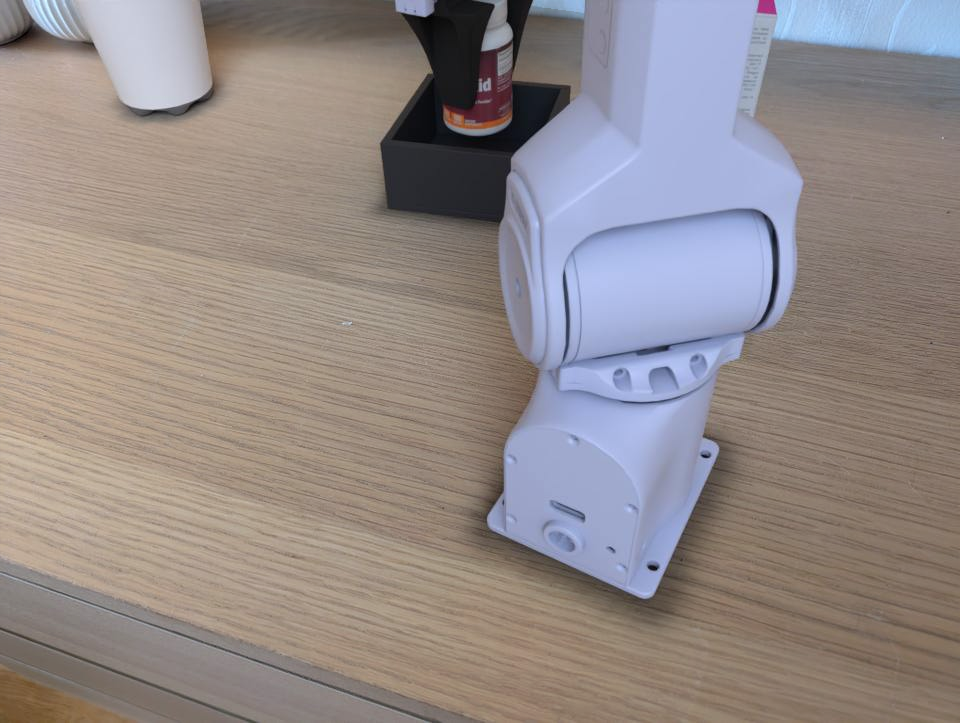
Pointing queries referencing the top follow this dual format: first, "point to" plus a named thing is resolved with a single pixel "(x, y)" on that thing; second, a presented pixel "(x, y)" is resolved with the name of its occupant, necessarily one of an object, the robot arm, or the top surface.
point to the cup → (151, 51)
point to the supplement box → (758, 55)
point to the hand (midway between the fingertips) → (479, 88)
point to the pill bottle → (489, 81)
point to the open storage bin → (460, 153)
